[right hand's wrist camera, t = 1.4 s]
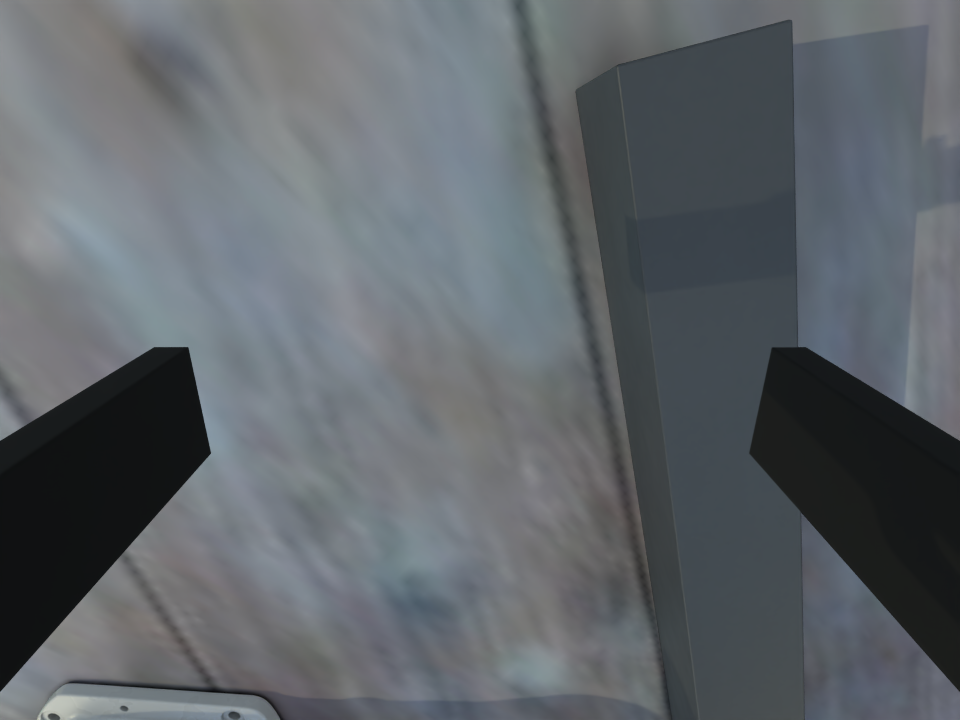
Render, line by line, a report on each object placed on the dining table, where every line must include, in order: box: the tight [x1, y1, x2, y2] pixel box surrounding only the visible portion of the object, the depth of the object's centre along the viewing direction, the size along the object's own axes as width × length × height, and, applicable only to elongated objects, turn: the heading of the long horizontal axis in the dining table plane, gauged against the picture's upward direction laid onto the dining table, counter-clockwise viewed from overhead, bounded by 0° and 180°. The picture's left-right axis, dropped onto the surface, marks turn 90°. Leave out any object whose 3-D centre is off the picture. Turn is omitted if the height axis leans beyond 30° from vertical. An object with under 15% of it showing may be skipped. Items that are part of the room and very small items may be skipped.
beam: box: [576, 20, 805, 720], centre depth 34 cm, size 71×6×8 cm, turn 13°
